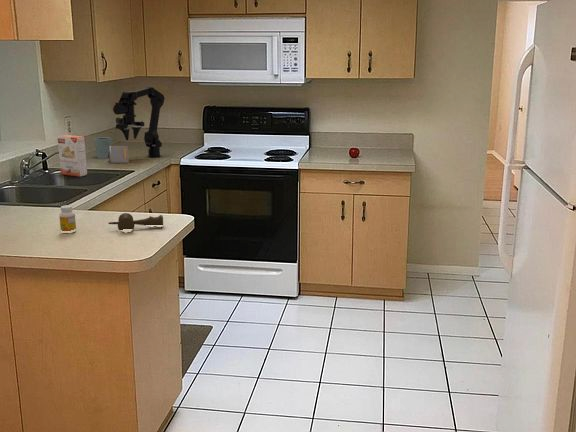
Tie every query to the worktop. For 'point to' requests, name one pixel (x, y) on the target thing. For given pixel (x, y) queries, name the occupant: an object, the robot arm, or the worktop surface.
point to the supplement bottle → (67, 218)
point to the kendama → (136, 221)
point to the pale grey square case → (119, 154)
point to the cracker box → (72, 155)
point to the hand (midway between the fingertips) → (131, 139)
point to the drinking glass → (102, 147)
